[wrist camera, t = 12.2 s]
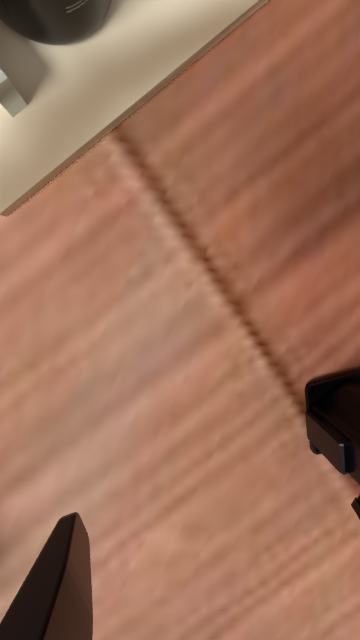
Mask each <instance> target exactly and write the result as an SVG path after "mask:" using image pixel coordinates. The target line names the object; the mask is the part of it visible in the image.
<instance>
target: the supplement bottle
mask: <svg viewBox="0 0 360 640" xmlns="http://www.w3.org/2000/svg"><path fill="white" fill-rule="evenodd" d="M111 1H112V0H0V20H1V21H2V22H4V23H5V24H6V25H7V26H8V27H10V28H11V29H12V30H14V31H15V32H16V33H18V34H20V35H22V36H23V37H25V38H27V39H30V40H32V41H35V42H38V43H42V44H46V45H67V44H72V43H75V42H77V41H80V40H82V39H83V38H85V37H87V36H88V35H89V34H91V33H92V32H93V31H94V30H95V29H96V28H97V27H98V26H99V25H100V23H101V22H102V21H103V19H104V17H105V16H106V14H107V12H108V10H109V7H110V4H111Z"/></svg>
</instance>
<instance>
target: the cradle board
mask: <svg viewBox="0 0 360 640" xmlns="http://www.w3.org/2000/svg"><path fill="white" fill-rule="evenodd" d="M268 1H269V0H112V1H111V4H110V7H109V10H108V12H107V14H106V16H105V17H104V19H103V21H102V22H101V23H100V25H99V26H98V27H97V28H96V29H95V30H94V31H93V32H92V33H91V34H89V35H88V36H87V37H85V38H83V39H82V40H80V41H77V42H75V43H72V44H67V45H46V44H42V43H38V42H35V41H32V40H30V39H27V38H25V37H23V36H22V35H20V34H18V33H16V32H15V31H14V30H12V29H11V28H10V27H8V26H7V25H6V24H5V23H4V22H2V21H1V20H0V215H3V216H6V217H7V216H8V215H9V214H10V213H12V212H13V211H14V210H15V209H16V208H18V207H19V206H20V205H21V204H22V203H24V202H25V201H26V200H27V199H29V198H30V197H31V196H32V195H33V194H35V193H36V192H37V191H38V190H40V189H41V188H42V187H43V186H44V185H46V184H47V183H48V182H49V181H50V180H52V179H53V178H54V177H55V176H57V175H58V174H59V173H60V172H61V171H63V170H64V169H65V168H66V167H67V166H69V165H70V164H71V163H72V162H74V161H75V160H76V159H77V158H78V157H80V156H81V155H82V154H83V153H84V152H86V151H87V150H88V149H89V148H91V147H92V146H93V145H94V144H95V143H97V142H98V141H99V140H100V139H102V138H103V137H104V136H105V135H106V134H108V133H109V132H110V131H111V130H112V129H114V128H115V127H116V126H117V125H119V124H120V123H121V122H122V121H123V120H125V119H126V118H127V117H128V116H129V115H131V114H132V113H133V112H134V111H136V110H137V109H138V108H139V107H140V106H142V105H143V104H144V103H145V102H146V101H148V100H149V99H150V98H151V97H153V96H154V95H155V94H156V93H157V92H159V91H160V90H161V89H162V88H163V87H165V86H166V85H167V84H168V83H170V82H171V81H172V80H173V79H174V78H176V77H177V76H178V75H179V74H181V73H182V72H183V71H184V70H185V69H187V68H188V67H189V66H190V65H191V64H193V63H194V62H195V61H196V60H198V59H199V58H200V57H201V56H202V55H204V54H205V53H206V52H207V51H208V50H210V49H211V48H212V47H213V46H215V45H216V44H217V43H218V42H219V41H221V40H222V39H223V38H224V37H225V36H227V35H228V34H229V33H230V32H232V31H233V30H234V29H235V28H236V27H238V26H239V25H240V24H241V23H243V22H244V21H245V20H246V19H247V18H249V17H250V16H251V15H252V14H253V13H255V12H256V11H257V10H258V9H260V8H261V7H262V6H263V5H264V4H266V3H267V2H268Z"/></svg>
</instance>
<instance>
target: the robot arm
mask: <svg viewBox="0 0 360 640" xmlns="http://www.w3.org/2000/svg"><path fill="white" fill-rule="evenodd" d="M313 388H314V389H313ZM312 389H313V391H311V390H312ZM305 397H306V409H307V410H306V413H305V415H306V426H307V436H308V439H309V442H310V449H311V451H312V452H313V453H314V454H321V453H322V454H323V455H324V456H325V457H326V458H327V459H328V460H329V461H330V463H331V464H332V465H333V466H334V467H335V468H336V469H337V470H338V471H339V472H340V473H342V474H343V475H345V474H349V475H350V476H351V477H352V478H353V479H354V480H355V481H356V482H357V483H358V484H359V485H360V370H357V371H354V372H350V373H346V374H342V375H339V376H335V377H331V378H328V379H324V380H320V381H317V382H313V383H310V384H308V385H307V386H306V387H305ZM351 506H352V507H353V509H354V510H355V512H356V514H357V515H358V517H359V519H360V495H359V496H358V498H355V499H354V501H353V502H352V504H351ZM92 634H93V608H92V586H91V565H90V545H89V537H88V533H87V531H86V529H85V526H84V524H83V522H82V520H81V517H80V515H79V514H78V513H77V512H74V513H71V514H69V515H66V516H63V517H62V518H60V519H59V521H58V522H57V524H56V526H55V528H54V529H53V531H52V533H51V535H50V537H49V538H48V540H47V542H46V544H45V545H44V547H43V549H42V551H41V552H40V554H39V556H38V558H37V559H36V561H35V563H34V565H33V566H32V568H31V570H30V572H29V574H28V575H27V577H26V579H25V581H24V582H23V584H22V586H21V588H20V589H19V591H18V593H17V595H16V596H15V598H14V600H13V602H12V604H11V605H10V607H9V609H8V611H7V612H6V614H5V616H4V618H3V619H2V621H1V623H0V640H92Z"/></svg>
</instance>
